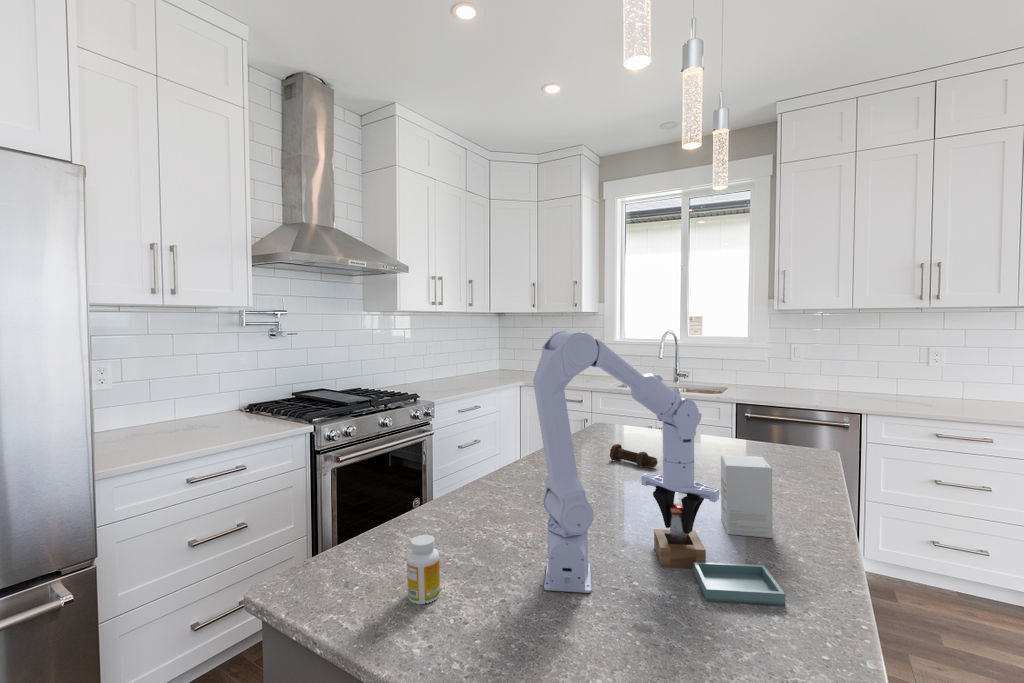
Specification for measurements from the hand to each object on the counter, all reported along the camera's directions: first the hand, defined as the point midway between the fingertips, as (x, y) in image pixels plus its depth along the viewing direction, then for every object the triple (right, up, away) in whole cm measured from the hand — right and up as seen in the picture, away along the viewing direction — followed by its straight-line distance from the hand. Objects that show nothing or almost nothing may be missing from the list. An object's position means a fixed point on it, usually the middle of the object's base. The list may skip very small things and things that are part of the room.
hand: (678, 529), depth 93 cm
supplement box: (+19, -5, +13) cm, 23 cm away
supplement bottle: (-47, -7, -11) cm, 49 cm away
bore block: (0, -6, 0) cm, 6 cm away
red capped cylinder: (0, -4, 0) cm, 4 cm away
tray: (+6, -6, -11) cm, 14 cm away
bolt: (+7, -3, +61) cm, 61 cm away
